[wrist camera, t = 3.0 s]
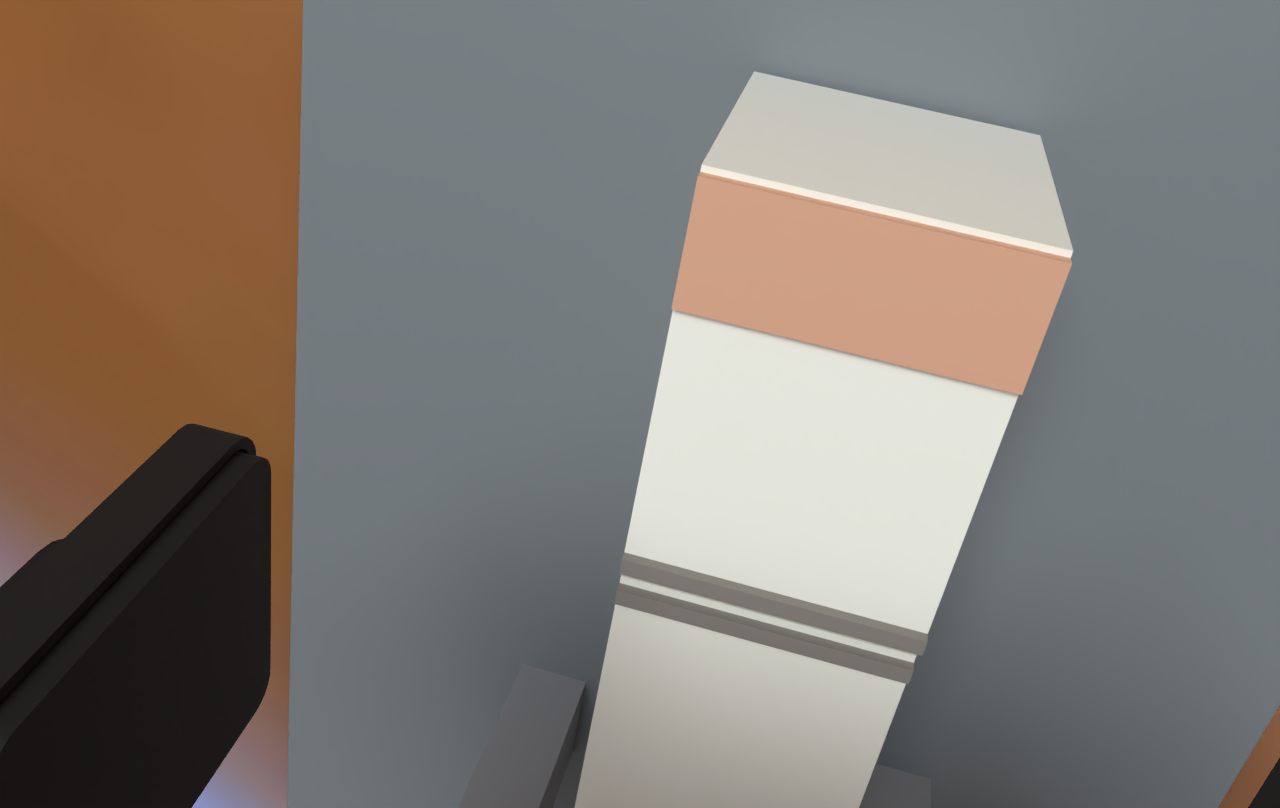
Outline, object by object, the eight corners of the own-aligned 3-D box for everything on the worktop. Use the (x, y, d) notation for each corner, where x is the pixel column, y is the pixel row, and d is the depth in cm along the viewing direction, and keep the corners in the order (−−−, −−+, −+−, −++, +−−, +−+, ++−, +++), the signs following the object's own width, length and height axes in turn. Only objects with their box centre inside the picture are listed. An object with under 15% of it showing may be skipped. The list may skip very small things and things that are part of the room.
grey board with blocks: (1906, -375, 16) (2549, -461, 9) (1065, 1039, 32) (1097, 1351, 25) (331, -638, 18) (9, -847, 12) (295, 807, 34) (153, 1042, 28)
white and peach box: (1040, 135, 20) (1075, 256, 15) (923, 472, 24) (921, 658, 19) (754, 70, 21) (698, 168, 16) (681, 410, 24) (617, 576, 19)
